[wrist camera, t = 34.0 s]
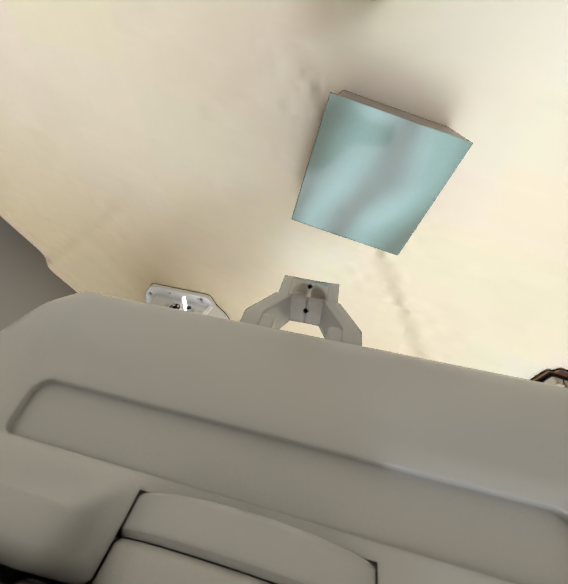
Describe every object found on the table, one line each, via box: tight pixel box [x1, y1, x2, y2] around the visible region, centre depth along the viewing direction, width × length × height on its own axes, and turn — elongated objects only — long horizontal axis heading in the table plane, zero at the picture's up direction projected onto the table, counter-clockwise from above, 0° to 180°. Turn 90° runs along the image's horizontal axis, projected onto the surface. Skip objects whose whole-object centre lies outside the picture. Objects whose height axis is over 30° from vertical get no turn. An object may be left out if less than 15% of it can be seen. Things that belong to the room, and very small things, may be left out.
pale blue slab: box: [292, 92, 473, 255], centre depth 31 cm, size 15×14×1 cm
